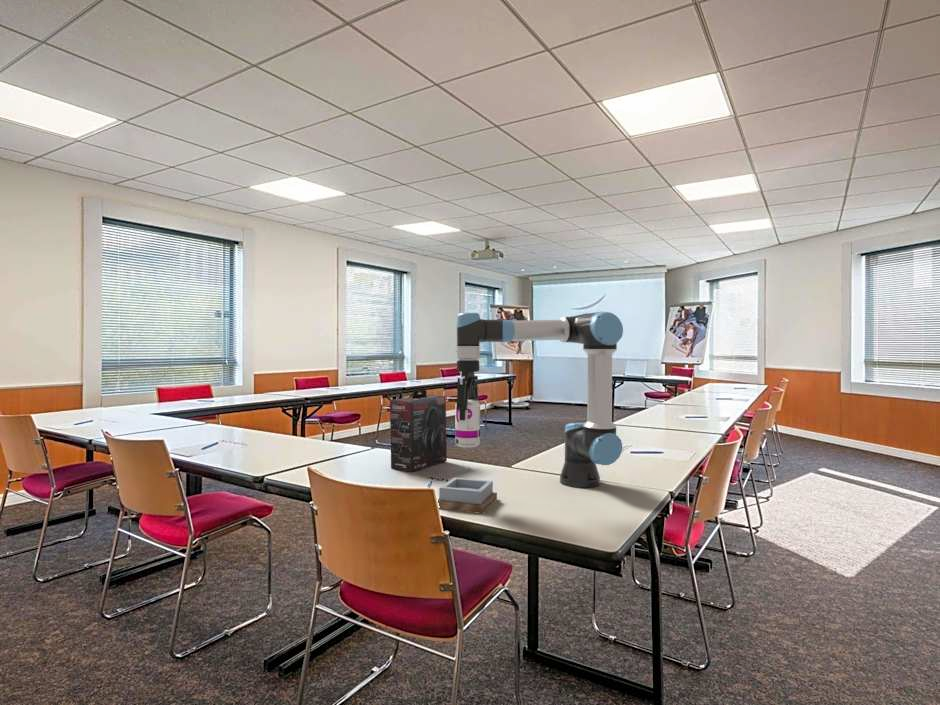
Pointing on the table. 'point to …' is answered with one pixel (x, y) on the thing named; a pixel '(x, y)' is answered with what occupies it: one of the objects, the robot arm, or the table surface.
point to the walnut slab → (468, 504)
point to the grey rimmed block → (466, 490)
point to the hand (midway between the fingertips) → (467, 428)
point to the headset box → (418, 431)
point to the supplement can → (469, 426)
